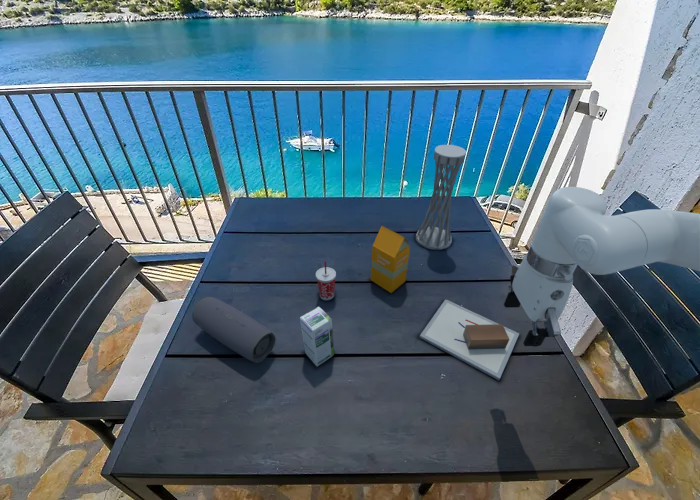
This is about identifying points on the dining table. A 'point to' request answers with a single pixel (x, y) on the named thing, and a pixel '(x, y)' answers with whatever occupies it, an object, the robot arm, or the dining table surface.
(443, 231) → the grey lattice tower
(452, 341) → the board
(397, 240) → the orange juice
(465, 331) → the eraser
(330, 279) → the beverage cup
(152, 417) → the dining table surface
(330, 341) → the syrup box
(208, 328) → the bluetooth speaker
